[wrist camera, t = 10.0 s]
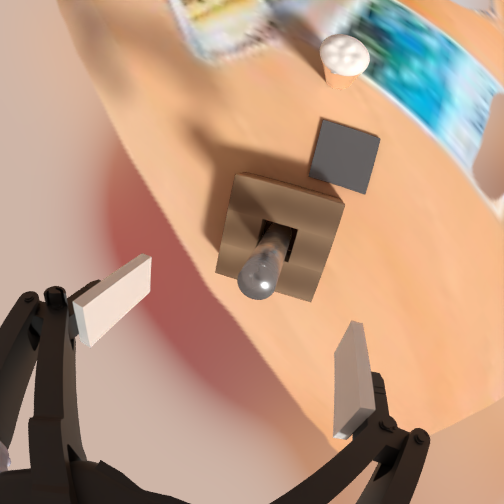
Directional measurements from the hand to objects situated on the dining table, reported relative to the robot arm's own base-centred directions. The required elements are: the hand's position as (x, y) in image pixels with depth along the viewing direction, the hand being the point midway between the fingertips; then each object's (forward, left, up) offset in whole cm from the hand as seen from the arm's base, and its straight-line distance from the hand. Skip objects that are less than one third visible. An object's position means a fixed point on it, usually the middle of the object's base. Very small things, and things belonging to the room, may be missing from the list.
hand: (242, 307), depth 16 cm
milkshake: (-20, +2, -19) cm, 27 cm away
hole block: (0, 0, -19) cm, 19 cm away
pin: (+1, 0, -19) cm, 19 cm away
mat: (-11, +5, -19) cm, 22 cm away
